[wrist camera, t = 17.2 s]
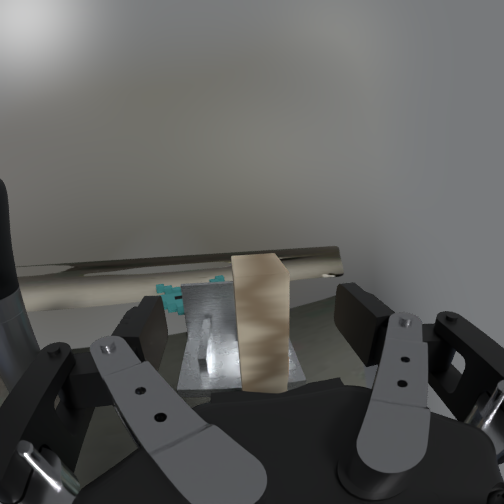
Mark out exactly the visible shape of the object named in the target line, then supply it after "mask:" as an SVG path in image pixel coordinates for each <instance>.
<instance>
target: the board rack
mask: <svg viewBox="0 0 504 504" xmlns="http://www.w3.org/2000/svg"><path fill="white" fill-rule="evenodd" d="M181 293H182V300H183V307H184V313H185V319H186V325H187V332H188V340H187V344H186V349H185V353H184V358H183V362H182V367H181V372H180V376H179V381H178V386H177V392H178V395H179V396H180V397H211V393H218V392H237V391H242V385H241V374H240V363H239V351H238V339H237V327H236V314H235V301H234V287H233V281H225V282H208V283H191V284H181ZM288 356H289V372H288V382H287V390H291V389H294V388H297V387H300V386H303V385H306V378H305V376H304V373H303V371H302V368H301V366H300V364H299V361H298V359H297V356H296V354H295V351H294V349H293V347H292V344H291V342H290V339H289V351H288Z"/></svg>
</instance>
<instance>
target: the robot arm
mask: <svg viewBox="0 0 504 504" xmlns="http://www.w3.org/2000/svg"><path fill="white" fill-rule="evenodd" d="M9 222H10V221H9V205H8V196H7V191H6V187H5V184H4V182H3V181H2V180H1V179H0V377H1V378H2V380H3V382H4V384H5V386H6V388H7V390H8V391H9V393H10V394H9V395H8V397H7V398H6V400H5V401H4V403H3V404H2V406H1V407H0V502H1V503H2V504H504V481H503V478H502V476H501V473H500V470H499V466H498V465H499V464H502V463H504V348H503V347H501V346H500V345H499V344H498V343H496V342H495V341H494V340H493V339H491V338H490V337H489V336H487V335H486V334H485V333H484V332H482V331H481V330H479V329H478V328H477V327H476V326H474V325H473V324H472V323H470V322H469V321H468V320H466V319H465V318H463V317H462V316H460V315H459V314H456V313H453V312H448V311H445V312H440V313H439V314H438V315H437V317H436V322H435V324H422V321H421V319H420V318H418V317H417V316H416V315H413V314H410V313H405V312H399V313H395V312H394V311H393V310H391V309H390V308H389V307H388V306H386V305H385V304H384V303H383V302H382V301H380V300H379V299H378V298H377V297H375V296H374V295H373V294H370V293H368V292H365V291H364V290H363V289H361V288H360V287H359V286H358V285H357V284H355V283H345V284H339V285H338V286H337V291H336V301H335V311H334V321H335V325H336V327H337V328H338V330H339V331H340V332H341V334H342V335H343V336H344V338H345V339H346V340H347V342H348V343H349V344H350V346H351V347H352V348H353V350H354V351H355V352H356V354H357V355H358V356H359V358H360V359H361V361H362V362H363V363H364V365H365V366H366V367H369V366H373V365H377V364H378V369H377V372H376V375H375V379H374V383H373V386H372V389H369V388H365V387H361V386H350V385H344V384H343V383H342V381H341V379H340V377H339V378H334V379H329V380H324V381H318V382H312V383H308V384H306V385H303V386H300V387H297V388H294V389H291V390H288V391H285V392H282V393H262V392H249V391H237V392H218V393H211V402H208V403H204V404H201V405H198V406H195V407H193V408H190V406H189V405H188V404H187V403H186V402H185V401H184V400H183V399H182V398H181V397H180V396H179V395H178V394H177V393H176V392H175V391H174V390H173V389H172V388H171V387H170V385H169V384H168V383H167V382H166V381H165V380H164V379H163V378H162V377H161V375H160V374H159V373H158V370H159V366H160V363H161V360H162V356H163V353H164V350H165V346H166V343H167V339H168V329H167V323H166V317H165V311H164V306H163V300H162V297H161V296H144V298H143V299H142V301H141V302H140V304H139V306H138V307H133V308H132V309H130V310H129V311H127V312H126V314H125V315H124V317H123V319H122V320H121V321H120V324H118V326H117V327H116V329H115V330H114V332H113V334H112V335H111V336H106V337H103V338H100V339H98V340H96V341H95V342H93V343H92V345H91V346H90V352H85V353H77V354H73V353H72V351H71V348H70V346H69V345H68V344H67V343H62V342H57V343H53V344H50V345H48V346H46V347H44V348H43V349H42V350H40V348H39V345H38V343H37V340H36V338H35V335H34V332H33V330H32V327H31V324H30V321H29V318H28V315H27V312H26V309H25V305H24V302H23V299H22V295H21V291H20V287H19V283H18V279H17V274H16V268H15V262H14V257H13V251H12V244H11V235H10V223H9ZM456 351H457V352H458V353H460V354H461V355H462V356H463V357H464V359H465V370H464V372H463V374H461V373H460V372H459V371H458V370H457V369H456V368H455V367H454V366H453V365H452V364H451V362H452V360H453V357H454V354H455V352H456ZM428 383H429V385H430V386H431V387H432V388H433V389H434V391H435V392H436V393H437V395H438V396H439V397H440V398H441V400H442V401H443V402H444V403H445V405H446V406H447V407H448V409H449V410H450V411H451V412H452V414H453V415H454V416H455V418H456V419H457V420H454V419H451V418H448V417H445V416H442V415H439V414H436V413H433V412H430V409H429V408H428V407H427V393H428ZM57 394H58V396H59V397H60V399H61V400H60V402H59V404H58V406H57V408H56V410H55V408H54V401H55V398H56V396H57ZM107 405H113V407H114V408H115V410H116V412H117V414H118V416H119V417H120V419H121V421H122V423H123V424H124V426H125V428H126V429H127V431H128V433H129V434H130V436H131V438H132V439H133V441H134V443H135V444H136V446H137V447H138V449H137V450H135V451H134V452H133V453H131V454H130V455H129V456H127V457H126V458H125V459H123V460H122V461H121V462H119V463H118V464H116V465H115V466H114V467H112V468H111V469H110V470H108V471H107V472H105V473H104V474H102V475H101V476H99V477H98V478H97V479H95V480H94V481H92V482H91V483H89V484H88V485H86V486H85V487H84V488H82V489H81V490H80V485H79V481H78V479H77V477H76V476H75V474H74V471H75V467H76V464H77V460H78V457H79V453H80V450H81V447H82V444H83V441H84V438H85V435H86V432H87V429H88V426H89V423H90V420H91V417H92V414H93V412H94V409H95V407H99V406H107Z"/></svg>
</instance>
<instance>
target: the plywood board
mask: <svg viewBox="0 0 504 504" xmlns="http://www.w3.org/2000/svg"><path fill="white" fill-rule="evenodd" d="M231 258H232V273H233V287H234V301H235V314H236V327H237V339H238V351H239V363H240V374H241V385H242V391H249V392H262V393H282V392H285V391H287V382H288V351H289V272H288V270H287V269H286V268H285V266H284V265H283V264H282V262H281V261H280V260H279V259H278V257H277V256H276V255H275V253H270V254H255V255H241V256H231Z"/></svg>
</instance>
